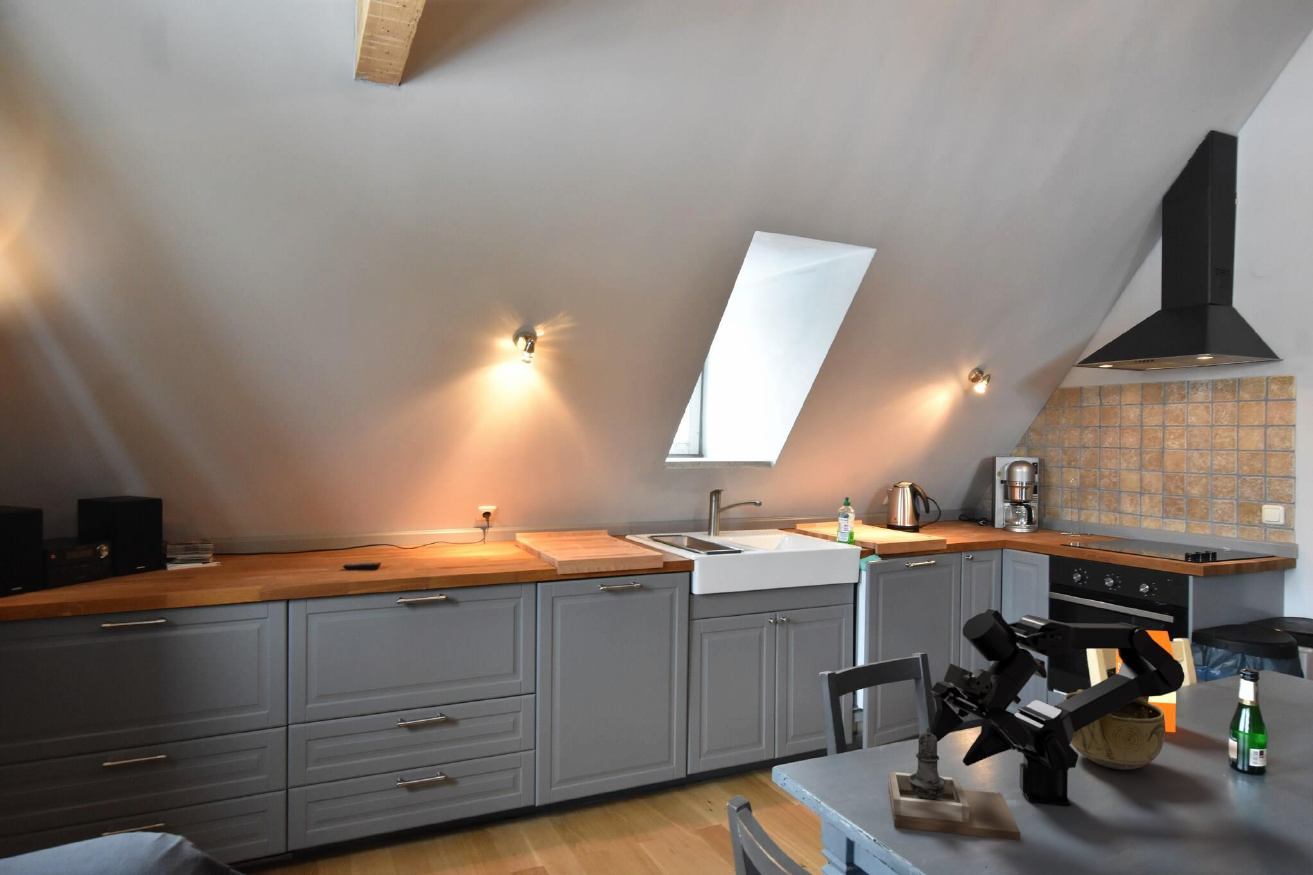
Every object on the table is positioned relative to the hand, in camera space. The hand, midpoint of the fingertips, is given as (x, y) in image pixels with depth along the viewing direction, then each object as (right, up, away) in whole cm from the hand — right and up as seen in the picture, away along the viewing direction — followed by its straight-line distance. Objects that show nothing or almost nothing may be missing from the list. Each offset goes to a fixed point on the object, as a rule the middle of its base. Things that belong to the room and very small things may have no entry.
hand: (946, 753), depth 133 cm
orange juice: (+57, -10, +42) cm, 71 cm away
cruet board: (0, -9, -2) cm, 9 cm away
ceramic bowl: (+38, -10, +20) cm, 44 cm away
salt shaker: (-3, -8, -1) cm, 9 cm away
